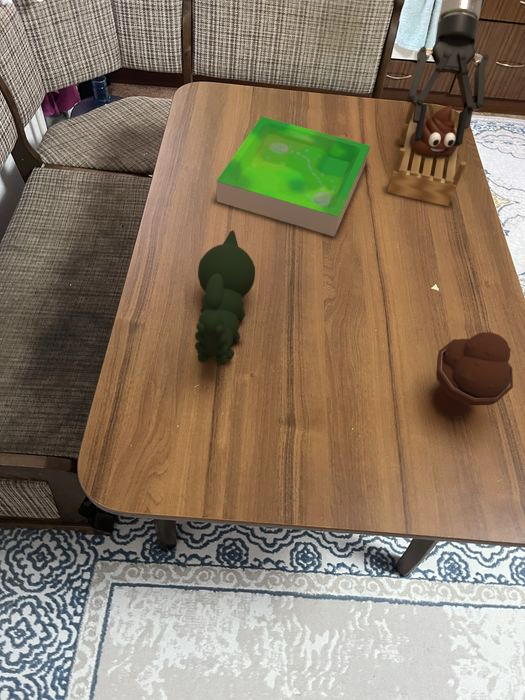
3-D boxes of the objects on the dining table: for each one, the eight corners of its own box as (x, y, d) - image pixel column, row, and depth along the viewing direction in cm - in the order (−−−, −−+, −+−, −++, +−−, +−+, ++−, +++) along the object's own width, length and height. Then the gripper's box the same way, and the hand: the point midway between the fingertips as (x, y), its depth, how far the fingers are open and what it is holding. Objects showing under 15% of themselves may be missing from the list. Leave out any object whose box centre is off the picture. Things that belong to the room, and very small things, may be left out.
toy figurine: (242, 386, 85) (257, 264, 98) (244, 321, 69) (263, 185, 81) (183, 379, 85) (207, 259, 98) (172, 313, 69) (202, 178, 81)
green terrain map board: (216, 201, 108) (216, 180, 104) (259, 136, 122) (261, 116, 118) (334, 236, 104) (338, 216, 100) (364, 165, 118) (370, 145, 114)
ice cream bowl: (410, 374, 87) (441, 316, 74) (475, 372, 88) (516, 314, 75) (426, 433, 80) (462, 380, 68) (496, 430, 82) (545, 378, 69)
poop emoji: (449, 136, 116) (464, 95, 109) (459, 160, 111) (477, 119, 104) (404, 135, 115) (417, 94, 108) (413, 160, 111) (427, 118, 103)
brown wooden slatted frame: (455, 153, 123) (471, 112, 115) (448, 206, 112) (466, 165, 104) (398, 140, 125) (411, 99, 117) (386, 192, 113) (399, 151, 105)
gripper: (502, 35, 108) (480, 152, 112) (402, 23, 109) (384, 140, 112) (518, 18, 101) (495, 144, 105) (411, 6, 101) (391, 131, 105)
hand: (437, 142), depth 109 cm, fingers closed on poop emoji, 7 cm apart
